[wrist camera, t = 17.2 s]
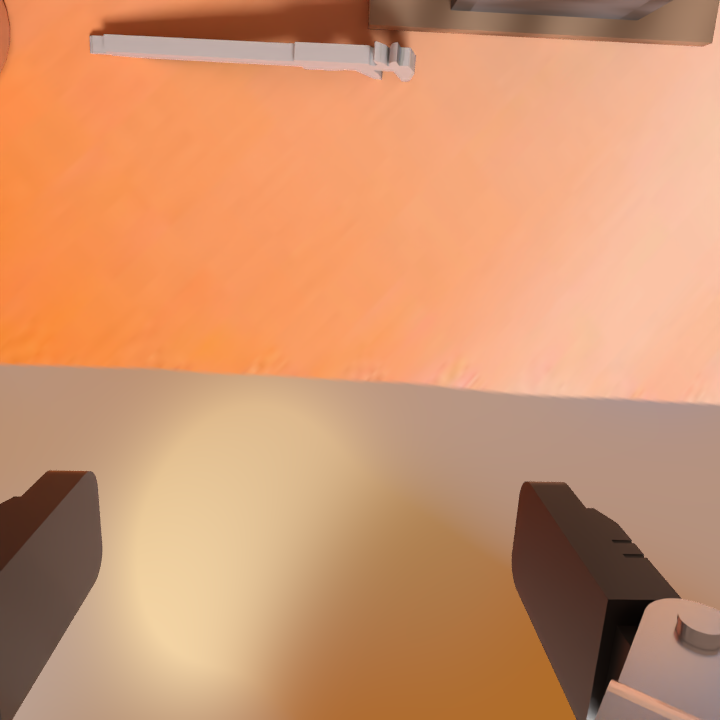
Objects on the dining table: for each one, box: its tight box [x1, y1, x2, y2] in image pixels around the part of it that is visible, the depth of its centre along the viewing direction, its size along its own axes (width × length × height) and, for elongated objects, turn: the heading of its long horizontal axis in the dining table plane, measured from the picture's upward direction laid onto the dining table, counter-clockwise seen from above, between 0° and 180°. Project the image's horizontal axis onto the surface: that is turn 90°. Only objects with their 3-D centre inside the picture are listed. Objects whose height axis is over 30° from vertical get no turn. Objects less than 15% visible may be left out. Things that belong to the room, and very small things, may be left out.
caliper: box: [90, 34, 416, 81], centre depth 37 cm, size 20×1×6 cm, turn 86°
